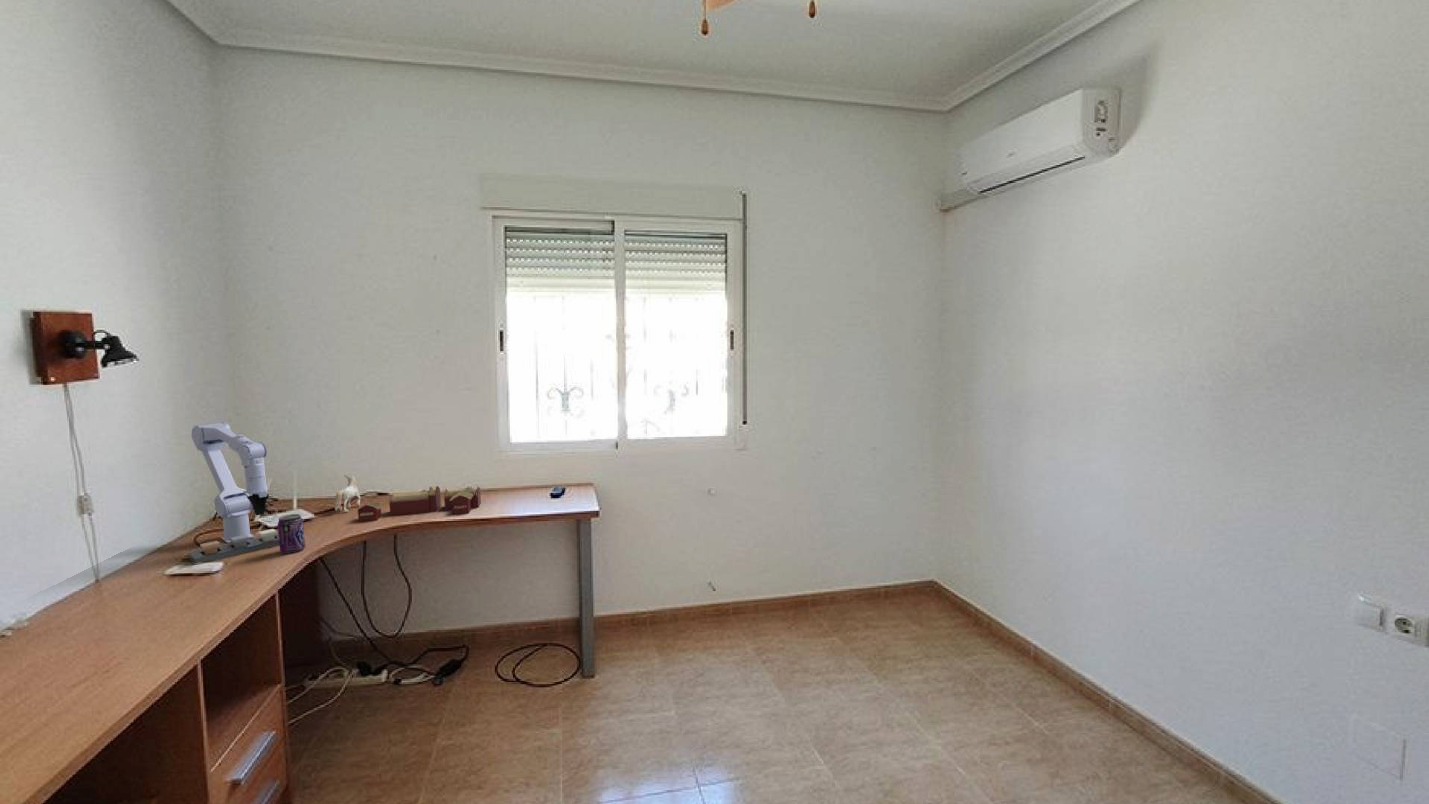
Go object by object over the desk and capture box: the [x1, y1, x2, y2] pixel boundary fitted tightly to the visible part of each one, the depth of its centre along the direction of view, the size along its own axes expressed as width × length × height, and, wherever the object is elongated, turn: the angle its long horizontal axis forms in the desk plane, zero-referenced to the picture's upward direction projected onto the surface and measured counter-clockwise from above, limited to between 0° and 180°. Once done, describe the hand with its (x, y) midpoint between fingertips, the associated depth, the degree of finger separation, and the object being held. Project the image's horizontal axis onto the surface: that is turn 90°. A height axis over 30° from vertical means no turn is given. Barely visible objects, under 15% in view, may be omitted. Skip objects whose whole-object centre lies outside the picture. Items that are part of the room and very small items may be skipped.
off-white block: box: [257, 528, 278, 542], centre depth 214 cm, size 4×4×3 cm
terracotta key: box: [199, 540, 221, 554], centre depth 201 cm, size 4×4×3 cm
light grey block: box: [230, 535, 250, 548], centre depth 207 cm, size 4×4×3 cm
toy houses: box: [355, 485, 482, 523], centre depth 250 cm, size 45×20×10 cm, turn 104°
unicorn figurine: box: [333, 474, 361, 513], centre depth 259 cm, size 7×20×13 cm, turn 18°
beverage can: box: [277, 513, 306, 554], centre depth 205 cm, size 7×7×12 cm
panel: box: [187, 532, 280, 564], centre depth 208 cm, size 10×26×2 cm, turn 140°
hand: (259, 514), depth 214 cm, fingers closed
